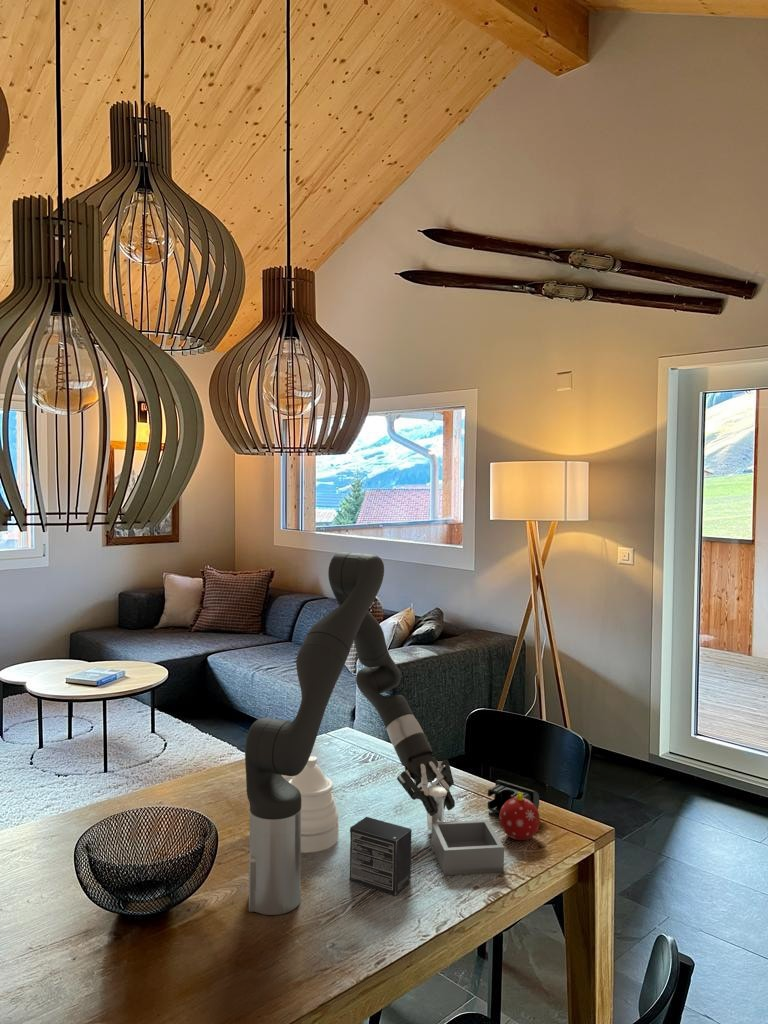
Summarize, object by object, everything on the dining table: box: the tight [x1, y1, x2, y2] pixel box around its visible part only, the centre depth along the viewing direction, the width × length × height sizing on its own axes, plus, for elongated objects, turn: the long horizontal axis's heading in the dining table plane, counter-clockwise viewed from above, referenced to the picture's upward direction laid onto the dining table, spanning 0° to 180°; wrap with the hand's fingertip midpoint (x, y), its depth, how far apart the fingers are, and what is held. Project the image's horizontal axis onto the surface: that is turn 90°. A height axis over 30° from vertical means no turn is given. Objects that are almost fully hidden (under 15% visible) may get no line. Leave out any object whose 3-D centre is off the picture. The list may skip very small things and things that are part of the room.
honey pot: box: [287, 755, 340, 854], centre depth 163 cm, size 13×13×18 cm
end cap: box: [487, 779, 540, 819], centre depth 176 cm, size 10×7×7 cm
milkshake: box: [426, 785, 452, 832], centre depth 167 cm, size 4×5×10 cm
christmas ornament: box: [498, 792, 541, 841], centre depth 165 cm, size 9×9×10 cm
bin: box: [431, 819, 505, 876], centre depth 156 cm, size 12×12×5 cm
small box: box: [348, 816, 412, 896], centre depth 147 cm, size 11×6×10 cm, turn 59°
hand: (443, 810), depth 165 cm, fingers closed on milkshake, 4 cm apart
